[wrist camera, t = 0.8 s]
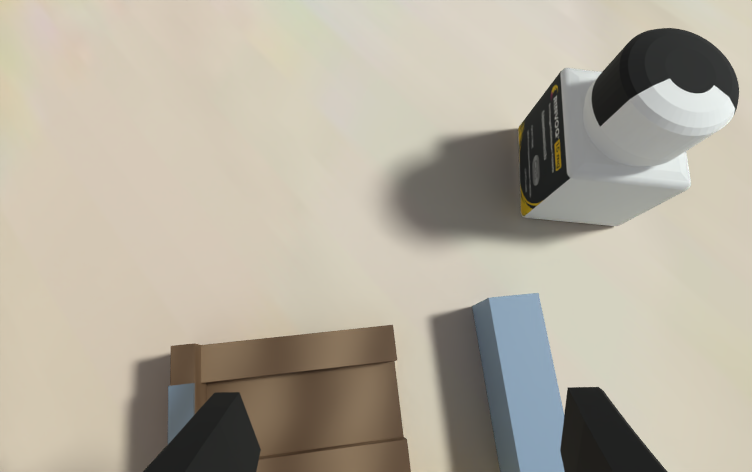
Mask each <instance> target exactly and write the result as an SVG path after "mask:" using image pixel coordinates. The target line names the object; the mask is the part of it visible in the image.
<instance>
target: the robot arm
mask: <svg viewBox="0 0 752 472" xmlns="http://www.w3.org/2000/svg"><path fill="white" fill-rule="evenodd" d="M260 451H261V449H260V446H259V443H258V440H257V438H256V435H255V432H254V430H253V427H252V424H251V422H250V419H249V416H248V414H247V411H246V408H245V406H244V403H243V400H242V398H241V395H240V392H217V393H214V394H213V395H212V396H211V397H210V398H209V399H208V400H207V401H206V402H205V404H204V405H203V406H202V407H201V408H200V409H199V410H198V411H197V412H196V414H195V415H194V416H193V417H192V418H191V419H190V420H189V421H188V423H187V424H186V425H185V426H184V427H183V428H182V429H181V430H180V432H179V433H178V434H177V435H176V436H175V437H174V438H173V439H172V441H171V442H170V443H169V444H168V445H167V446H166V447H165V448H164V450H163V451H162V452H161V453H160V454H159V455H158V456H157V457H156V458H155V459H154V461H153V462H152V463H151V464H150V465H149V466H148V467H147V468H146V469H145V470H144V471H143V472H256V471H257V466H258V461H259V456H260ZM560 452H561V457H562V462H563V466H564V471H565V472H667V471H666V469H665V468H664V467H663V466H662V465H661V464H660V462H659V461H658V460H657V459H656V458H655V456H654V455H653V454H652V453H651V452H650V450H649V449H648V448H647V447H646V445H645V444H644V443H643V442H642V440H641V439H640V438H639V437H638V435H637V434H636V433H635V432H634V430H633V429H632V428H631V427H630V425H629V424H628V423H627V422H626V420H625V419H624V418H623V416H622V415H621V414H620V412H619V411H618V410H617V409H616V407H615V406H614V405H613V403H612V402H611V401H610V399H609V398H608V397H607V395H606V394H605V392H604V391H603V390H602V389H600V388H599V387H576V388H568V391H567V399H566V407H565V415H564V423H563V431H562V439H561V448H560Z"/></svg>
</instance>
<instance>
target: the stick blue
mask: <svg viewBox="0 0 752 472" xmlns="http://www.w3.org/2000/svg"><path fill="white" fill-rule="evenodd" d="M472 308H473V314H474V320H475V326H476V332H477V338H478V344H479V350H480V355H481V361H482V367H483V373H484V379H485V385H486V391H487V397H488V403H489V408H490V414H491V420H492V426H493V432H494V438H495V444H496V450H497V456H498V461H499V467H500V472H565V471H564V466H563V462H562V457H561V452H560V448H561V439H562V431H563V423H564V412H563V407H562V403H561V398H560V393H559V388H558V384H557V379H556V374H555V370H554V365H553V360H552V355H551V351H550V346H549V341H548V336H547V332H546V327H545V322H544V318H543V313H542V308H541V303H540V299H539V294H538V293H533V294H522V295H512V296H502V297H492V298H487V299H485V300H484V301H482V302H480V303H478V304H476V305H474V306H472Z"/></svg>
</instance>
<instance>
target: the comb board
mask: <svg viewBox="0 0 752 472" xmlns="http://www.w3.org/2000/svg"><path fill="white" fill-rule="evenodd" d="M396 360H397V355H396V347H395V339H394V330H393V325H387V326H378V327H369V328H359V329H350V330H340V331H331V332H321V333H312V334H302V335H293V336H283V337H274V338H265V339H255V340H246V341H236V342H227V343H217V344H208V345H198V344H186V345H176V346H171V371H170V386H168V444H169V443H170V442H171V441H172V439H173V438H174V437H175V436H176V435H177V434H178V433H179V432H180V430H181V429H182V428H183V427H184V426H185V425H186V424H187V423H188V421H189V420H190V419H191V418H192V417H193V416H194V415H195V414H196V412H197V411H198V410H199V409H200V408H201V407H202V406H203V405H204V404H205V402H206V401H207V400H208V399H209V398H210V397H211V396H212V395H213V394H214V393H217V392H240V395H241V398H242V400H243V403H244V406H245V408H246V411H247V414H248V416H249V419H250V422H251V424H252V427H253V430H254V432H255V435H256V438H257V440H258V443H259V446H260V449H261V451H260V456H259V461H258V466H257V471H256V472H411V470H410V461H409V453H408V445H407V439H406V438H404V437H403V429H402V420H401V412H400V404H399V396H398V387H397V379H396V371H395V362H394V361H396Z"/></svg>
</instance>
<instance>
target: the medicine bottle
mask: <svg viewBox="0 0 752 472" xmlns="http://www.w3.org/2000/svg"><path fill="white" fill-rule="evenodd" d="M738 98H739V86H738V81H737V77H736V74H735V72H734V69H733V68H732V66H731V64H730V62H729V61H728V60H727V58H726V57H725V56H724V55H723V54H722V52H721V51H720V50H719V49H717V48H716V47H715V46H714V45H713V44H711V43H710V42H709V41H707V40H706V39H704V38H702V37H700V36H698V35H696V34H694V33H691V32H688V31H685V30H680V29H673V28H663V29H654V30H649V31H646V32H643V33H641V34H639V35H637V36H636V37H634V38H633V39H632V40H631V41H630V42H629V43H628V44H627V45H626V46H625V47H624V48H623V49H622V51H621V52H620V53H619V54H618V55H617V56H616V57H615V58H614V60H613V61H612V62H611V63H610V64H609V65H608V66H607V67H606V68H605V70H604V71H603V72H598V71H590V70H581V69H573V68H565V69H563V70H562V71H561V72H560V73H559V75H558V76H557V77H556V79H555V80H554V81H553V83H552V84H551V85H550V86H549V88H548V89H547V90H546V92H545V93H544V94H543V96H542V97H541V98H540V100H539V101H538V102H537V104H536V105H535V106H534V108H533V109H532V110H531V112H530V113H529V114H528V116H527V117H526V118H525V120H524V121H523V122H522V124H521V125H520V126H519V129H518V143H519V173H520V204H521V215H522V216H523V217H525V218H533V219H544V220H555V221H565V222H576V223H586V224H597V225H608V226H619V225H621V224H623V223H625V222H627V221H629V220H631V219H632V218H634V217H636V216H638V215H640V214H642V213H644V212H646V211H648V210H650V209H651V208H653V207H655V206H657V205H659V204H661V203H663V202H665V201H667V200H669V199H670V198H672V197H674V196H676V195H678V194H680V193H682V192H684V191H686V190H687V189H688V188H689V187H690V186H691V180H690V173H689V167H688V160H687V154H686V151H687V150H689V149H690V148H692V147H693V146H695V145H696V144H698V143H700V142H701V141H703V140H704V139H706V138H707V137H709V136H711V135H712V134H714V133H715V132H717V131H718V130H720V129H721V128H723V127H724V126H726V125H727V123H728V122H729V121H730V120H731V119H732V117H733V116H734V114H735V111H736V109H737V104H738Z"/></svg>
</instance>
